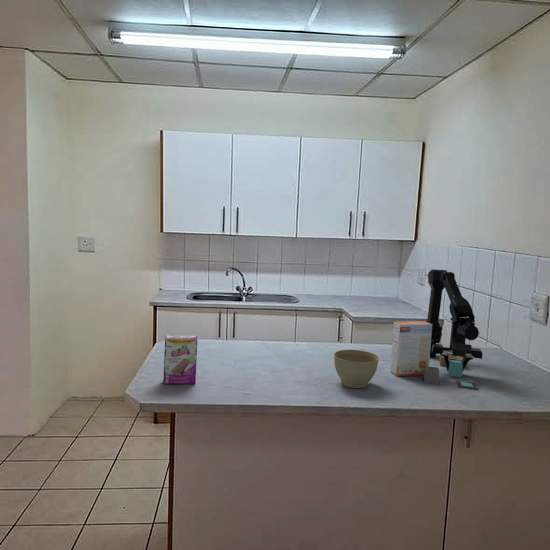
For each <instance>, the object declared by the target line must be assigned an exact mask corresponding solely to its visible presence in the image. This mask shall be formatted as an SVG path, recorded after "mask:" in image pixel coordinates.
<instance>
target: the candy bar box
mask: <svg viewBox="0 0 550 550" xmlns="http://www.w3.org/2000/svg"><path fill="white" fill-rule="evenodd" d="M163 353H164V355H163V357H164V358H163V385H195V384H196V380H197V379H196V376H197V360H198V359H197V355H198V336H197V335H176V334H175V335H172V334H171V335H170V334H169V335H165V336H164V352H163Z"/></svg>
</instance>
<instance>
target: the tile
mask: <svg viewBox="0 0 550 550" xmlns="http://www.w3.org/2000/svg"><path fill="white" fill-rule="evenodd" d="M455 382H456V386H457V388H461V389H469V390H476V391H477V390H479V388H478V386H477V383H476V382H471V381H464V380H455Z"/></svg>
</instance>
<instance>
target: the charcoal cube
mask: <svg viewBox="0 0 550 550" xmlns="http://www.w3.org/2000/svg"><path fill="white" fill-rule="evenodd" d="M439 380H440V369H439V367H436V366H435V367H434V366H429V367H428V366H425V369H424V375H423V381H424V383H426V384H433V385H439Z"/></svg>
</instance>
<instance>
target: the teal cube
mask: <svg viewBox="0 0 550 550" xmlns="http://www.w3.org/2000/svg"><path fill="white" fill-rule="evenodd" d="M462 369H463V364H462V362H461V361H455V360H449V369H448V371H447V370H446V372H447V374H448V376H451V377H460V378H462V377H463V372H462Z"/></svg>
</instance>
